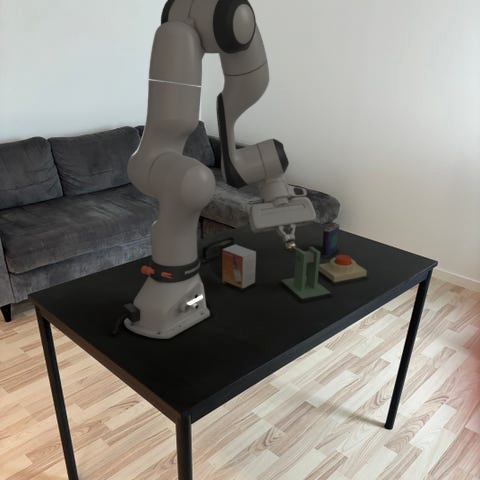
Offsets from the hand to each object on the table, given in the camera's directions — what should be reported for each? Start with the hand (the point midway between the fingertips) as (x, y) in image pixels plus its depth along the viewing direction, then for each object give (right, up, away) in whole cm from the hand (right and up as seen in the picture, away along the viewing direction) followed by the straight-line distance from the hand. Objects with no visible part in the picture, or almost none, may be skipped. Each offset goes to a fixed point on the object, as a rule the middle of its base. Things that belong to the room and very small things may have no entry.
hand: (289, 241), depth 138 cm
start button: (+16, -6, +3) cm, 17 cm away
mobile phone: (-22, -2, +17) cm, 28 cm away
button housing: (+16, -10, +5) cm, 19 cm away
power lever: (+2, -5, -3) cm, 6 cm away
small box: (-15, -13, 0) cm, 19 cm away
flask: (+15, -1, +20) cm, 25 cm away
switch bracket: (+4, -14, -3) cm, 15 cm away
